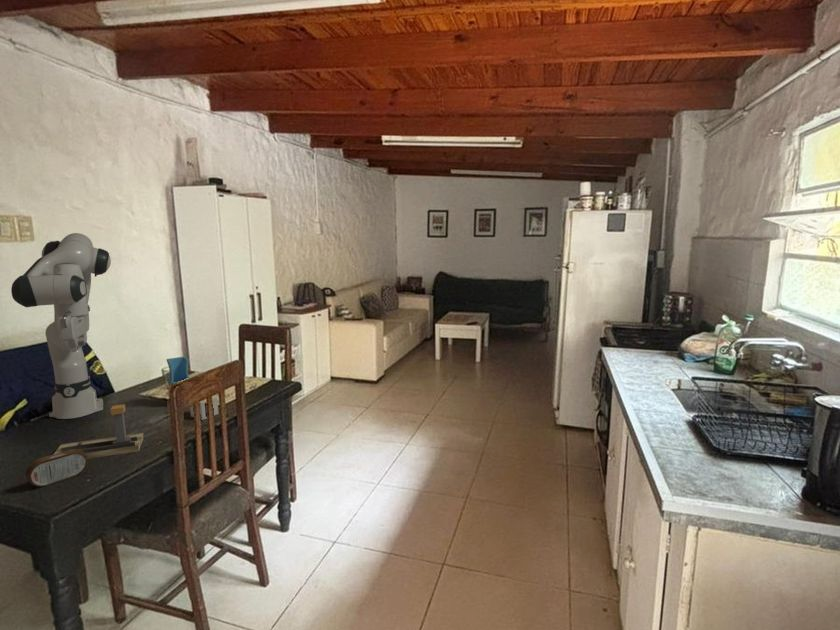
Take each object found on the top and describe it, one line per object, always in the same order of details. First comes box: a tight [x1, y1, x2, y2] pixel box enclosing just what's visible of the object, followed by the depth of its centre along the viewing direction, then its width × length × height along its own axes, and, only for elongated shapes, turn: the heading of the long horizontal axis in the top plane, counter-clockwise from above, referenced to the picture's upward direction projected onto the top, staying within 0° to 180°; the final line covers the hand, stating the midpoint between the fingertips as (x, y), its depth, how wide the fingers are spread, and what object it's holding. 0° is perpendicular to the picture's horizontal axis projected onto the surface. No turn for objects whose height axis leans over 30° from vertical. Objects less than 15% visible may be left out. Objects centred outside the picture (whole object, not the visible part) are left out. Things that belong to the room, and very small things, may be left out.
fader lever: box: [110, 404, 131, 445], centre depth 162 cm, size 4×5×14 cm
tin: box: [25, 449, 89, 488], centre depth 143 cm, size 15×3×8 cm, turn 141°
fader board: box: [53, 432, 145, 460], centre depth 163 cm, size 12×25×3 cm, turn 112°
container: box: [189, 395, 219, 421], centre depth 194 cm, size 8×8×13 cm
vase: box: [166, 356, 190, 386], centre depth 208 cm, size 8×8×20 cm
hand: (78, 348), depth 167 cm, fingers open, 8 cm apart
